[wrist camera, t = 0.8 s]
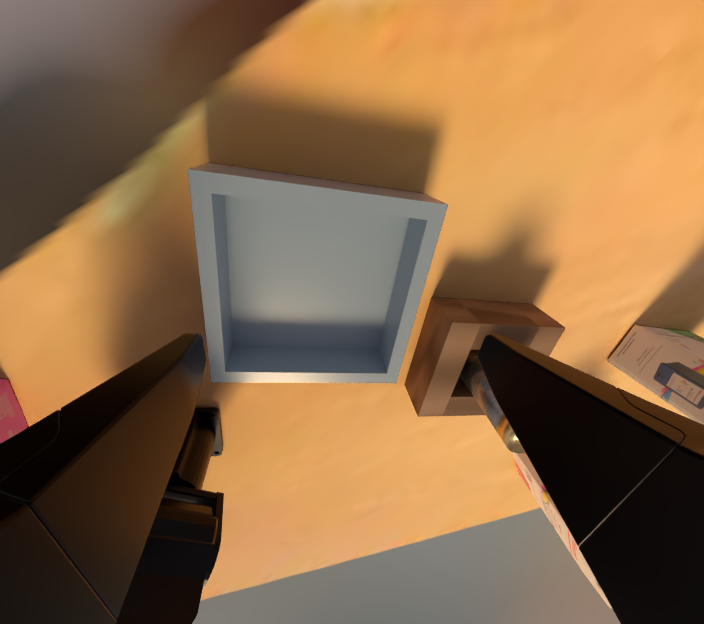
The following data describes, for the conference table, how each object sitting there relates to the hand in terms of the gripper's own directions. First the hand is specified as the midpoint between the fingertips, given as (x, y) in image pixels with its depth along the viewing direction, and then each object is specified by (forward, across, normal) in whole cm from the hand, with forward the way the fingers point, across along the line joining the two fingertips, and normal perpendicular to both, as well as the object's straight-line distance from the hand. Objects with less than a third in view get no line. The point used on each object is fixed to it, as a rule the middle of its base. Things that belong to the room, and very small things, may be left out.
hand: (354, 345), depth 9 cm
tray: (+14, 0, +4) cm, 14 cm away
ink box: (+14, -36, +10) cm, 40 cm away
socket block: (+14, -14, +10) cm, 22 cm away
